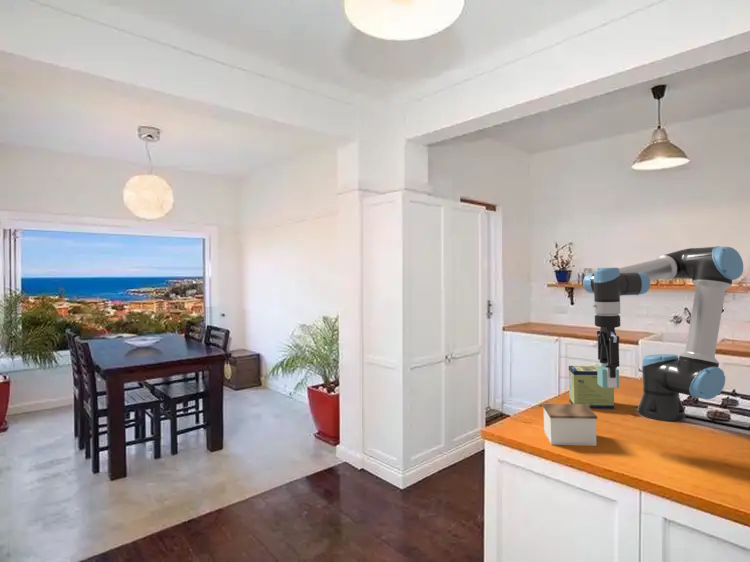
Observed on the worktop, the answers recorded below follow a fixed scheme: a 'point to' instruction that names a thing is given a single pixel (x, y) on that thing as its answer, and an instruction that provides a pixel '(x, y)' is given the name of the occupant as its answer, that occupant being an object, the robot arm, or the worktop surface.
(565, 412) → the lid
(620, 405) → the worktop surface
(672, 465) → the worktop surface
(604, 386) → the block
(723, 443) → the worktop surface
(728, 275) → the robot arm
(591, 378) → the protein box
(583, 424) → the box
